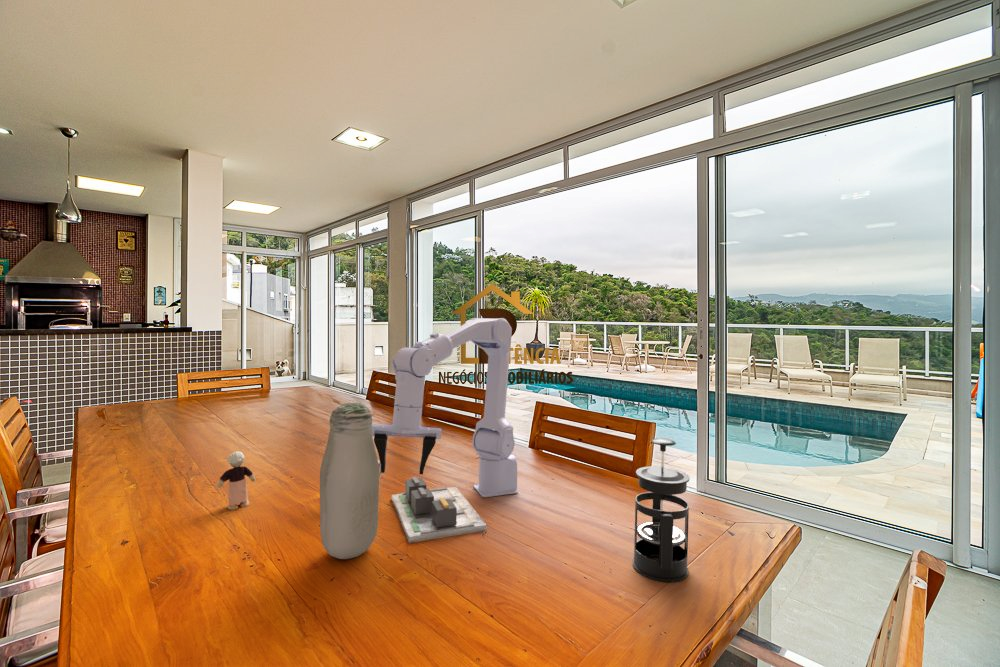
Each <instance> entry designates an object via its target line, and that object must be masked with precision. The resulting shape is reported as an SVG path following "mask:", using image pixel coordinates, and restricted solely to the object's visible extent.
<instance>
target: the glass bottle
mask: <svg viewBox="0 0 1000 667" xmlns="http://www.w3.org/2000/svg"><path fill="white" fill-rule="evenodd" d="M372 425H373V417H372V413H371V411H370V409H369V407H368V406H366V405H365V404H363V403H361V402H347V403H342V404H340V405H338V406H337V407H335V408H334V409H333V410H332V411H331V413H330V417H329V434H328V437H327V443H326V447H325V450H324V453H323V456H322V460H321V465H320V470H319V527H320V528H319V530H320V531H319V532H320V539H321V544H322V547H323V548H324V550H325V551H326V552H327V553H328V554H329V556H331V557H334V558H335V559H338V560H349V559H353V558H355V557H359V556H360V555H362V554H364V553H365V552H366V551H368V549H369V548H371V546H372V545H373V542H374V541H375V539H376V536H377V532H378V528H379V498H380V479H379V463H378V460H379V459H378V455H377V449H376V445H375V443H374V436H372Z"/></svg>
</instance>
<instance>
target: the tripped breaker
mask: <svg viewBox="0 0 1000 667" xmlns="http://www.w3.org/2000/svg"><path fill="white" fill-rule="evenodd" d="M432 519H433V521H434V522H435V524H436V526H437V528H438V527H444V526H451V525H456V519H457V508H456V506H455V505H454V503H453V502H452V501H451V499H446V500H445V499H444V498H439V500H438V501H432Z"/></svg>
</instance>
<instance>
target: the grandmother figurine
mask: <svg viewBox="0 0 1000 667" xmlns="http://www.w3.org/2000/svg"><path fill="white" fill-rule="evenodd" d="M244 461H245V455H244V454H243V452H242V451H239V450H238V451H234V452H232V453H230V454H229V456H228V458H227V462H228V464H229V465H230V466H231V467H232V468H230V469H228V470H226V471H224V473H222V475H221V476H220V478H219V481H218V483H217V485H216V487H217V488H219V489H221V488H222V487H223V485H224V483H225V482H227V481H228V484H227V485H228V488H227V489H228V495H227V496H228V505H227V509H229V510H231V511H233V510H237V509H238V508H239V506H240V507H241V508H243V507H244V508H245V507H248V506H249V505H250V501H249V499H248V486H247V481H246V480H247V479H246V477H248V479H250V481H251V482H253V483H254V482H255V481H256V480H257V479H256V477H255V476H254V474H253V471H251V470H250V469H249V467H247V466H242V465H243V462H244ZM245 476H246V477H245ZM238 504H239V506H238Z"/></svg>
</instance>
